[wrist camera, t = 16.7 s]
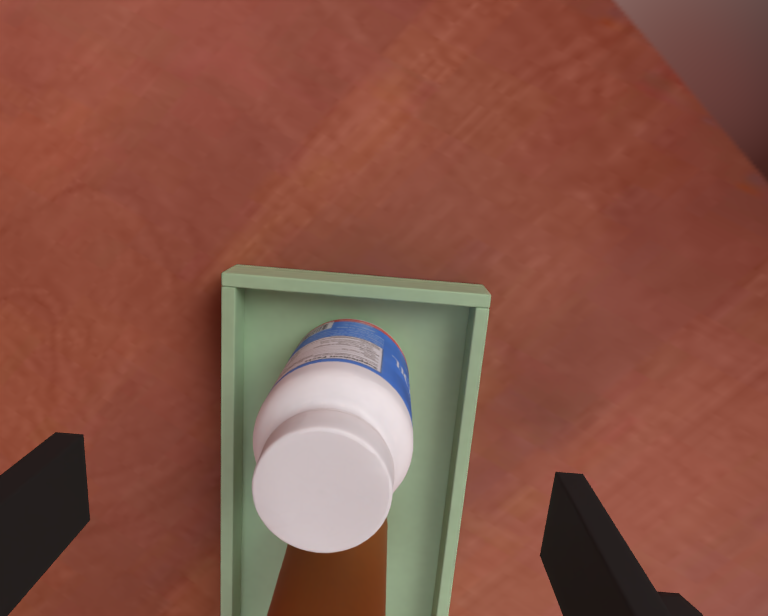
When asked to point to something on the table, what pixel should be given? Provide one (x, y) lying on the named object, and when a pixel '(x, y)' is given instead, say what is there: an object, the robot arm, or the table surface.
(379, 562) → the bottle mid
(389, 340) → the pill bottle
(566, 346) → the table surface
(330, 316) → the tray
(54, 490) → the robot arm
